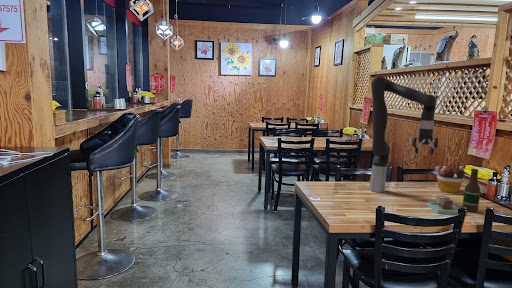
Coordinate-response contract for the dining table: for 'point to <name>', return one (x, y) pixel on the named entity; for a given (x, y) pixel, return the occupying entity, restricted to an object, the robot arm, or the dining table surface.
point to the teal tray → (442, 211)
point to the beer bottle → (472, 193)
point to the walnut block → (445, 203)
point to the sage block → (440, 197)
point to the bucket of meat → (450, 177)
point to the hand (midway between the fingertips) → (423, 154)
